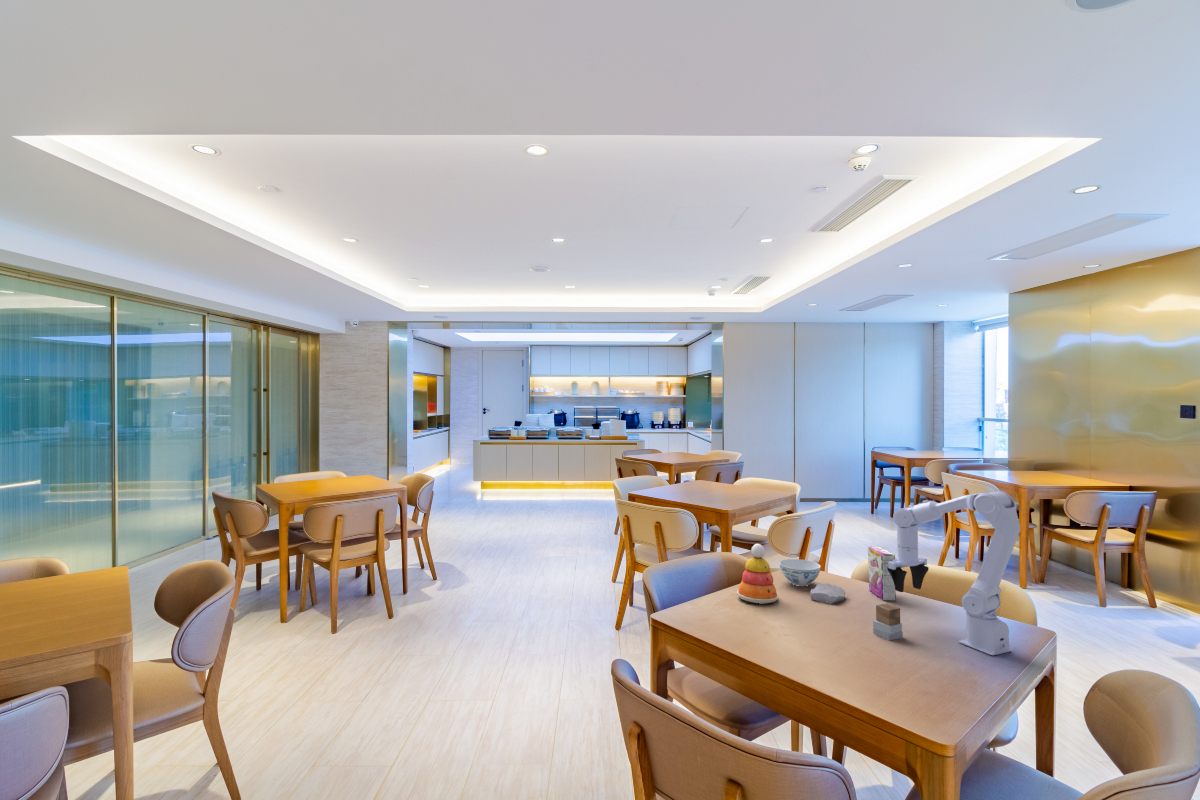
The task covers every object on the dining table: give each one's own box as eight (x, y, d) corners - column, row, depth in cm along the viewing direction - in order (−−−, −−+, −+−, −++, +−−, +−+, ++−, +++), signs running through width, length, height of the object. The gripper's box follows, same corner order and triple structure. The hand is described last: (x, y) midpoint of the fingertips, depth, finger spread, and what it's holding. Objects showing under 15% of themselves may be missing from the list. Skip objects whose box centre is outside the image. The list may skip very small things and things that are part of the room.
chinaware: (771, 580, 216) (771, 560, 217) (803, 577, 221) (803, 557, 221) (795, 592, 202) (795, 571, 202) (829, 588, 207) (829, 567, 207)
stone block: (846, 602, 197) (818, 591, 203) (848, 589, 197) (820, 578, 203) (836, 612, 188) (807, 600, 194) (839, 599, 187) (810, 587, 194)
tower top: (901, 630, 162) (901, 623, 162) (891, 634, 159) (890, 626, 159) (884, 624, 166) (884, 617, 167) (873, 628, 164) (873, 620, 164)
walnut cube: (887, 618, 166) (887, 603, 166) (900, 623, 161) (900, 608, 162) (876, 620, 164) (876, 605, 164) (888, 625, 160) (888, 610, 160)
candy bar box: (867, 590, 204) (867, 546, 204) (881, 591, 204) (881, 546, 204) (882, 601, 193) (881, 554, 193) (896, 601, 192) (895, 554, 193)
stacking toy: (764, 609, 185) (763, 551, 185) (728, 598, 195) (728, 543, 196) (786, 599, 194) (785, 544, 195) (751, 590, 205) (751, 537, 205)
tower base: (902, 639, 161) (902, 631, 161) (888, 642, 159) (888, 634, 159) (886, 632, 166) (886, 624, 166) (873, 634, 164) (873, 627, 164)
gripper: (912, 541, 179) (913, 583, 179) (879, 545, 174) (880, 588, 173) (932, 546, 172) (933, 589, 172) (899, 550, 167) (899, 595, 167)
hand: (908, 589), depth 172 cm, fingers open, 7 cm apart
